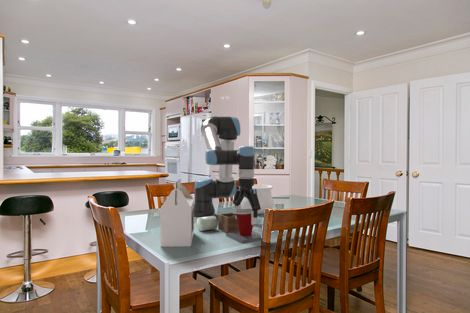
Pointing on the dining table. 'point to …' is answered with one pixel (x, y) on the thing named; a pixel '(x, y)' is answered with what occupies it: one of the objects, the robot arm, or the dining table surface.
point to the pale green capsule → (207, 223)
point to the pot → (260, 198)
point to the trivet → (244, 237)
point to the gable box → (177, 218)
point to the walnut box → (227, 222)
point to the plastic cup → (244, 221)
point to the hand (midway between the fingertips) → (245, 221)
